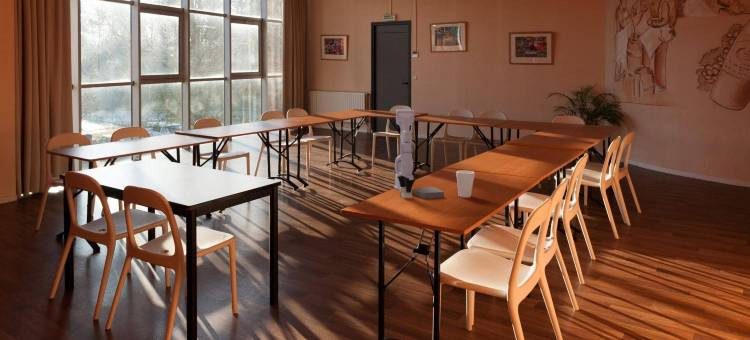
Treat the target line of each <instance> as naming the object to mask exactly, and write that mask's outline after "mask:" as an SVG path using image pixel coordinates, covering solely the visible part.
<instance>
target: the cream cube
mask: <svg viewBox="0 0 750 340" xmlns="http://www.w3.org/2000/svg"><path fill="white" fill-rule="evenodd" d="M399 198H401V199H412V198H413V189H412V190H411V192H409V193H407V192H406V187H400V190H399Z"/></svg>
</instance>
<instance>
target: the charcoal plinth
mask: <svg viewBox="0 0 750 340" xmlns="http://www.w3.org/2000/svg"><path fill="white" fill-rule="evenodd" d="M413 195H415V196H417V197H418V198H420V199H423V200H424V199H425V200H426V199H439V198H440V199H441V198H445V196H444V195H445V191H443V190H441V189H439V188H437V187H434V186H433V187H432V186H431V187H417V188H413Z"/></svg>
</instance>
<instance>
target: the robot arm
mask: <svg viewBox="0 0 750 340" xmlns="http://www.w3.org/2000/svg"><path fill="white" fill-rule="evenodd" d="M414 121H415V110H414V109H397V108H396V110H395V123H396V125H398V126H399V128H400V138H399V139H400V140H399V141H400V142H399V143H400V146H399V148H400V150H399V151H400V152H399V153H400V154H399V155H398V156H397V157H395V158H394V159H395V160H394V161H395V162H394V171H395V172H396V173H395V175H394V185H393V187H394V188H395V189H397V190H399V191H400V187H406V192H407V193H409V192H411V190H412V191H413V190H414V188H413V186H414V183H415V182H416V179H414V175H413V172H414V162H413V153H414V142H413V137H412V135H413V134H412V132H411V131H410V126H411V125H413V124H414Z"/></svg>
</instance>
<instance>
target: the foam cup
mask: <svg viewBox="0 0 750 340" xmlns="http://www.w3.org/2000/svg"><path fill="white" fill-rule="evenodd" d="M455 176H456V183H457V193H458V197H459V196H460V198H471V197H472V196H471V195H472V191H473V190H472V189H473V186H474V180H475V171H473V170H463V169H462V170H456V174H455Z"/></svg>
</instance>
